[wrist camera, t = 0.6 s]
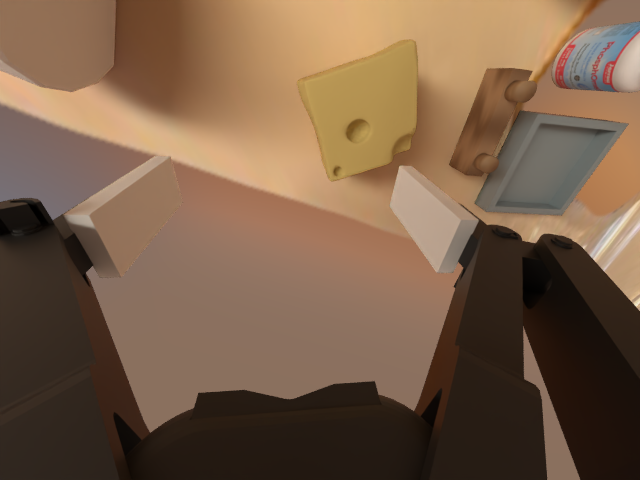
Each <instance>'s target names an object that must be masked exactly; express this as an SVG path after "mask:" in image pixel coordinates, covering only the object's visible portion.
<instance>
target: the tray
mask: <svg viewBox="0 0 640 480" xmlns="http://www.w3.org/2000/svg"><path fill="white" fill-rule="evenodd" d="M627 126H628V124H626V123H620V122H613V121H607V120H599V119H591V118H582V117H572V116H564V115H556V114H547V113H537V112H529V111H520V112H519V114H518V116H517V118H516V120H515V122H514V124H513V126H512V129H511V131H510V133H509V135H508V137H507V139H506V141H505V143H504V145H503V147H502V149H501V151H500V153H499V155H498V157H497V159H498V160H499V165H498V167H497V169H496V170H495V171H493V172H491V173H489V175H488V177H487V179H486V181H485V183H484V185H483V187H482V189H481V191H480V193H479V195H478V197H477V199H476V201H475V204H476V205H478V206H479V207H480V208H482V209H483V210H485V211H486V212H504V213H524V214H544V215H562V214H563V213H564V212H565V210H566V209H567V208H568V206H569V205H570V203H571V202H572V201H573V199H574V198H575V197H576V195H577V194H578V192H579V191H580V190H581V188H582V187H583V186H584V184H585V183H586V182H587V180H588V179H589V178H590V176H591V175H592V173H593V172H594V171H595V169H596V168H597V167H598V165H599V164H600V162H601V161H602V160H603V158H604V157H605V156H606V154H607V153H608V152H609V150H610V149H611V147H612V146H613V145H614V143H615V142H616V140H617V139H618V138H619V137H620V135H621V134H622V132H623V131H624V130H625V128H626V127H627Z"/></svg>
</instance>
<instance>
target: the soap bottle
mask: <svg viewBox="0 0 640 480" xmlns="http://www.w3.org/2000/svg"><path fill="white" fill-rule="evenodd" d="M115 22H116V0H0V71H3V72H5V73H8V74H10V75H13V76H15V77H18V78H20V79H22V80H25V81H27V82H30V83H32V84H35V85H37V86H40V87H44V88H50V89H56V90H62V91H68V92H73V91H76V90H79V89H82V88H85V87H88V86H90V85H93V84H96V83H98V82H99V81H100V80H101V79H102V78H103V77H104V76H105V75H106V74H107V73H108V71H109V70H110V69H111V68H112V67H113V66H114V52H115Z"/></svg>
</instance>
